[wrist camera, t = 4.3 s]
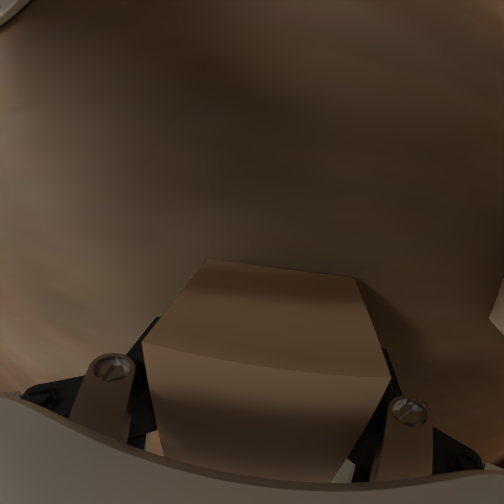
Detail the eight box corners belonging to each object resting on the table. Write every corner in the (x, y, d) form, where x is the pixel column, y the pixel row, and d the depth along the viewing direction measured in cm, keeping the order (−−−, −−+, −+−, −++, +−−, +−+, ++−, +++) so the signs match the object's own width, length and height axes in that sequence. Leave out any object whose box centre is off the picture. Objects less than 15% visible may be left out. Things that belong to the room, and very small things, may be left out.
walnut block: (208, 258, 10) (141, 341, 5) (354, 277, 10) (390, 377, 5) (206, 368, 12) (166, 462, 7) (323, 385, 11) (326, 487, 7)
